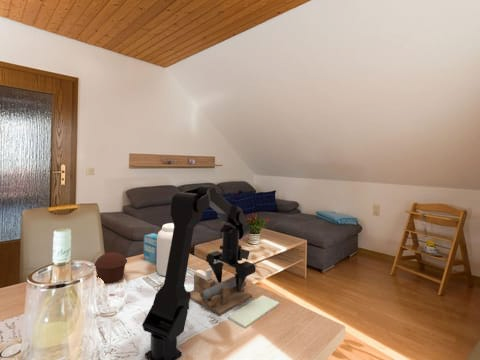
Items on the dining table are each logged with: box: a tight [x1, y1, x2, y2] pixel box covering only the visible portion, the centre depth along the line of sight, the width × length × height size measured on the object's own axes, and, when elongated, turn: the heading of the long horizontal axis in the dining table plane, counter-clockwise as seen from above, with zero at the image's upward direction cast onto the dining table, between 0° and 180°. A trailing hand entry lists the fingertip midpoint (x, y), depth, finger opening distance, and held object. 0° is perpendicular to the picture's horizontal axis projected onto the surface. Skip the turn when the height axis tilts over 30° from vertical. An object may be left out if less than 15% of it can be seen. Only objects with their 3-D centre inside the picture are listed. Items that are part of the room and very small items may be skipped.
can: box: [156, 222, 174, 277], centre depth 113 cm, size 12×12×20 cm
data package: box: [143, 232, 158, 265], centre depth 123 cm, size 12×4×12 cm, turn 58°
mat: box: [227, 294, 280, 329], centre depth 86 cm, size 7×18×1 cm, turn 139°
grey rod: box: [203, 276, 236, 300], centre depth 92 cm, size 3×18×3 cm, turn 139°
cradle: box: [189, 274, 253, 317], centre depth 93 cm, size 17×16×6 cm
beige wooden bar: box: [194, 267, 213, 280], centre depth 94 cm, size 7×2×3 cm, turn 49°
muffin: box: [94, 251, 128, 285], centre depth 104 cm, size 12×11×10 cm
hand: (229, 286), depth 93 cm, fingers open, 9 cm apart
